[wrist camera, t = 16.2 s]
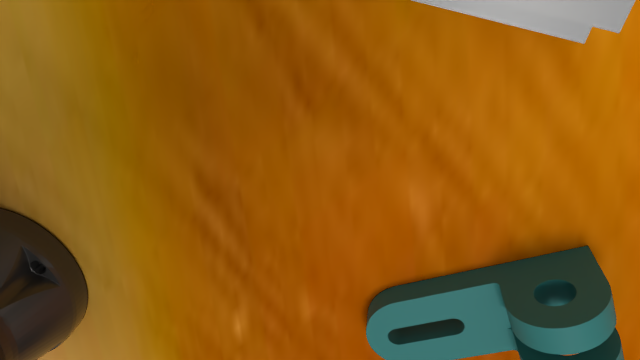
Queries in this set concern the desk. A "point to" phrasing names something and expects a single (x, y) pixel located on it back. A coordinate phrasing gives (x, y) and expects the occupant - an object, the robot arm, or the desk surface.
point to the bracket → (501, 312)
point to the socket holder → (547, 14)
